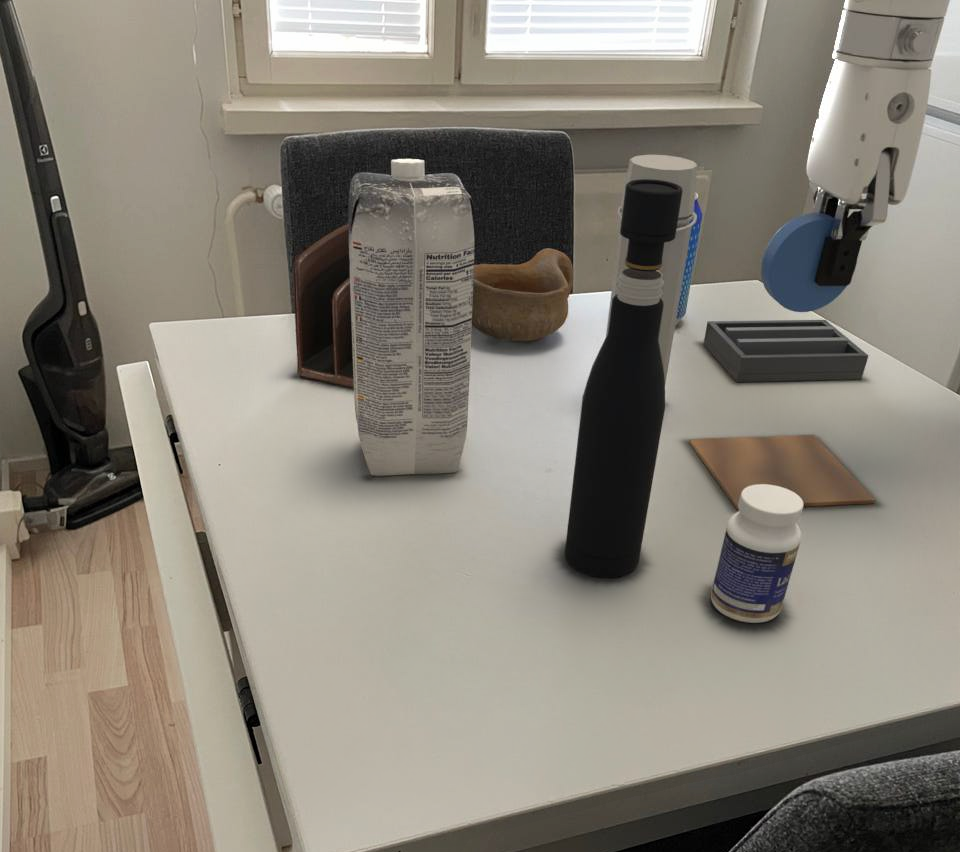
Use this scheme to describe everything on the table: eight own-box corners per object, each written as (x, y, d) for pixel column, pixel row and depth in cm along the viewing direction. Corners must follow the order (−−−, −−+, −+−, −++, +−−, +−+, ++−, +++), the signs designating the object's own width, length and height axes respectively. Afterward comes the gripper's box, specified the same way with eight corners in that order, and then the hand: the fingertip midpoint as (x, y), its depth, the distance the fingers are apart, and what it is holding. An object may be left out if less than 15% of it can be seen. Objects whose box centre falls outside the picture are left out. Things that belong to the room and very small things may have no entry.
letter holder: (296, 377, 113) (287, 250, 104) (375, 322, 128) (372, 207, 119) (375, 394, 110) (372, 264, 101) (446, 336, 125) (448, 219, 116)
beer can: (640, 304, 138) (657, 180, 128) (694, 318, 134) (717, 193, 124) (609, 320, 132) (626, 192, 122) (666, 335, 128) (687, 205, 119)
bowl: (489, 287, 136) (512, 217, 129) (578, 334, 134) (606, 265, 127) (430, 326, 123) (452, 250, 116) (527, 379, 121) (556, 304, 114)
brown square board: (813, 438, 106) (814, 434, 106) (874, 503, 95) (875, 499, 95) (688, 442, 104) (689, 438, 104) (736, 509, 93) (737, 505, 93)
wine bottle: (586, 584, 82) (637, 200, 64) (551, 545, 87) (590, 176, 68) (652, 570, 84) (720, 194, 66) (615, 532, 89) (669, 172, 70)
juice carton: (469, 478, 96) (482, 178, 79) (360, 483, 94) (350, 177, 77) (456, 437, 102) (465, 153, 86) (354, 440, 101) (343, 151, 84)
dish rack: (819, 342, 129) (826, 315, 127) (861, 379, 120) (869, 351, 118) (703, 344, 127) (708, 317, 125) (736, 382, 117) (742, 353, 115)
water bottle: (598, 386, 114) (627, 150, 99) (666, 394, 113) (706, 157, 98) (589, 419, 107) (618, 170, 92) (661, 428, 106) (704, 178, 91)
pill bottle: (782, 630, 78) (814, 521, 72) (709, 620, 79) (734, 511, 73) (778, 590, 83) (807, 484, 77) (709, 581, 83) (732, 475, 77)
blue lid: (854, 280, 90) (839, 196, 85) (864, 287, 88) (849, 202, 83) (771, 319, 91) (751, 238, 86) (780, 327, 89) (760, 245, 85)
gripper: (986, 57, 72) (907, 310, 83) (882, 29, 84) (825, 253, 95) (890, 54, 70) (823, 311, 82) (799, 26, 83) (752, 252, 94)
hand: (825, 278), depth 88 cm, fingers closed on blue lid, 2 cm apart
